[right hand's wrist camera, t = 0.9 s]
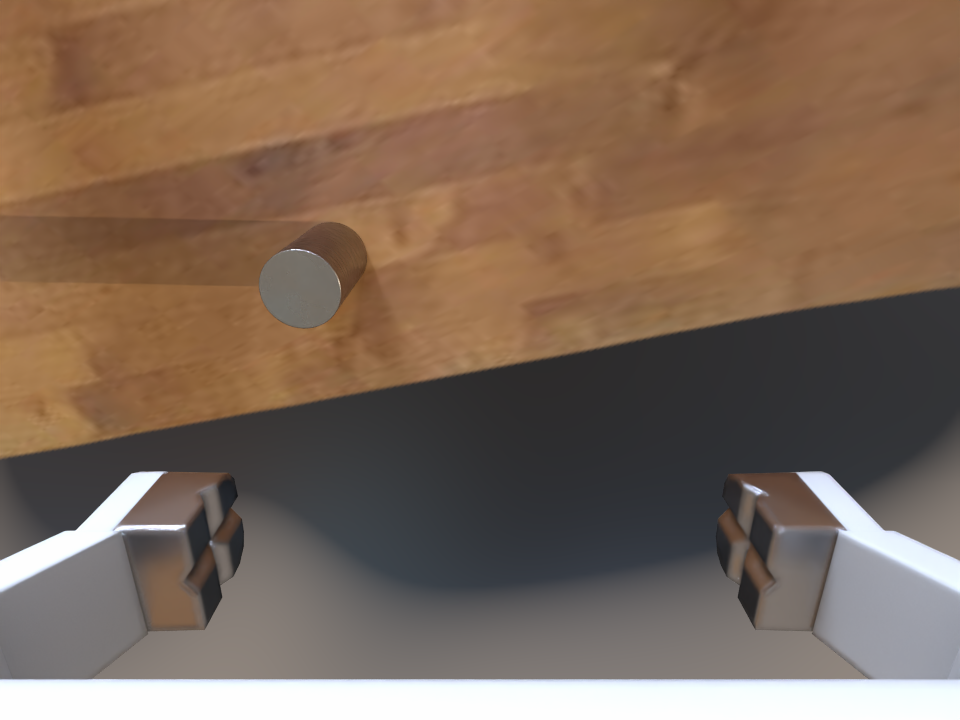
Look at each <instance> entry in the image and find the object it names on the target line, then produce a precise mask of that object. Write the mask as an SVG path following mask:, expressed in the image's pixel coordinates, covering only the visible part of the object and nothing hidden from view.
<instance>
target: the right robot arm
mask: <svg viewBox="0 0 960 720" xmlns="http://www.w3.org/2000/svg"><path fill="white" fill-rule="evenodd" d="M237 497H238V495H237V490H236V485H235V481H234V478H233V477H232V476H231V475H230V474H229V473H193V472H169V473H167V472H138V473H133V474H131V475H130V476H129V477H128V478H127V479H126V480H125V481H124V482H123V483H122V484H121V485H120V486H119V487H118V488H117V489H116V490H115V491H114V492H113V493H112V494H111V495H110V496H109V497H108V498H107V499H106V500H105V502H103V503H102V504H101V506H100V507H99V508H98V509H97V510H96V511H95V512H94V513H93V514H92V515H91V516H90V517H89V518H88V519H87V520H86V521H85V522H84V523H83V524H82V525H81V526H80V527H79V528H78V529H77V530H76V531H64V532H62V533H60V534H58V535H56V536H53V537H51V538H49V539H47V540H45V541H42V542H40V543H38V544H36V545H34V546H31V547H29V548H27V549H25V550H23V551H20V552H18V553H16V554H14V555H12V556H10V557H7V558H5V559H3V560H1V561H0V720H960V561H959V560H957V559H955V558H953V557H950V556H948V555H946V554H944V553H942V552H939V551H937V550H935V549H933V548H931V547H928V546H926V545H924V544H922V543H920V542H918V541H915V540H913V539H911V538H909V537H906V536H904V535H902V534H900V533H898V532H896V531H884V530H883V529H882V528H881V527H880V526H879V525H878V524H877V523H876V522H875V521H874V520H873V519H872V518H871V517H870V516H869V515H868V514H867V513H866V512H865V511H864V510H863V508H862V507H861V506H860V505H859V504H858V503H857V502H856V501H855V500H854V499H853V498H852V497H851V496H850V495H849V494H848V493H847V492H846V491H845V490H844V489H843V488H842V487H841V486H840V485H839V484H838V483H837V482H836V481H835V480H834V479H833V478H832V477H831V476H830V475H829V474H827V473H824V472H822V471H818V472H792V473H759V474H729V475H728V477H727V479H726V481H725V484H724V489H723V495H722V497H723V498H724V500H725V501H726V503H727V505H728V506H729V509H728V510H727V511H726V512H725V513H724V514H723V515H722V516H721V517H720V518H719V519H718V524H717V532H716V543H717V554H718V557H719V560H720V564H721V566H722V568H723V570H724V572H725V574H726V576H727V577H728V578H729V579H731V580H732V581H734V582H735V583H737V584H738V585H740V588H739V593H738V599H739V601H740V602H741V604H742V606H743V608H744V610H745V612H746V613H747V615H748V617H749V619H750V621H751V623H752V625H753V626H754V628H755V630H782V631H813V632H812V634H813V635H814V636H815V637H817V638H818V639H819V640H820V641H822V642H823V643H824V644H825V645H827V646H828V647H829V648H830V649H832V650H833V651H834V652H835V653H837V654H838V655H839V656H840V657H842V658H843V659H844V660H845V661H847V662H848V663H849V664H850V665H852V666H853V667H854V668H855V669H857V670H858V671H859V672H861V673H862V674H863V675H864V676H865V677H867V678H868V679H576V680H575V679H569V680H568V679H92V678H94V677H95V676H96V675H97V674H99V673H100V672H101V671H102V670H103V669H105V668H106V667H107V666H109V665H110V664H111V663H112V662H114V661H115V660H116V659H117V658H119V657H120V656H121V655H122V654H124V653H125V652H126V651H127V650H129V649H130V648H131V647H132V646H134V645H135V644H136V643H137V642H139V641H140V640H141V639H142V638H144V637H145V636H146V635H147V634H148V632H147V631H177V630H205V628H206V626H207V625H208V623H209V621H210V619H211V617H212V615H213V613H214V612H215V610H216V608H217V606H218V604H219V602H220V600H221V599H222V593H221V588H220V585H222V584H223V583H225V582H226V581H228V580H229V579H231V578H232V577H233V576H234V574H235V572H236V570H237V568H238V566H239V564H240V560H241V556H242V551H243V547H244V530H243V524H242V519H241V518H240V517H239V516H238V515H237V514H236V513H235V512H234V511H233V510H232V509H231V506H232V505H233V503H234V501H235V500H236V498H237Z"/></svg>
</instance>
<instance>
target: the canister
mask: <svg viewBox="0 0 960 720" xmlns="http://www.w3.org/2000/svg"><path fill="white" fill-rule="evenodd" d="M366 263H367V253H366V249H365V246H364V244H363V242H362V240H361V238H360V237H359V236H358V235H357V234H356V233H355V232H354V231H353V230H352V229H350V228H349V227H347V226H345V225H343V224H340V223H334V222H326V223H321V224H318V225H316V226H314V227H313V228H311V229H310V230H308V231H307V232H306V233H304V234H303V235H302V236H300V237H299V238H297V239H296V240H295V241H293V242H292V243H291V244H289V245H288V246H286V247H285V248H284V249H282V250H281V251H280V252H278V253H277V254H275V255H274V256H273V257H271V258H270V259H269V260H268V261H267V263H266V264H265V265H264V267H263V269H262V271H261V274H260V278H259V290H260V295H261V298H262V300H263V303H264V305H265V306H266V308H267V309H268V310H269V312H270V313H271V314H272V315H273V316H274V317H275V318H277V319H278V320H279V321H281V322H283V323H285V324H287V325H289V326H292V327H297V328H313V327H317V326H320V325H322V324H324V323H325V322H327V321H328V320H329V319H331V318H332V317H333V315H334V314H335V313H336V311H337V310H338V309H339V307H340V306H341V304H342V303H343V301H344V300H345V299H346V297H347V296H348V294H349V293H350V291H351V290H352V289H353V287H354V286H355V284H356V283H357V282H358V280H359V279H360V277H361V276H362V274H363V273H364V270H365V268H366Z"/></svg>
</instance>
